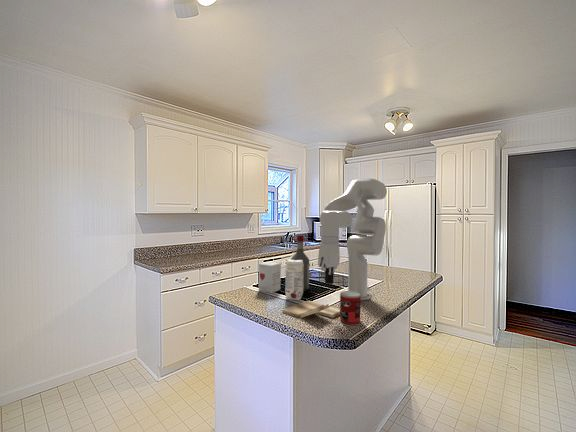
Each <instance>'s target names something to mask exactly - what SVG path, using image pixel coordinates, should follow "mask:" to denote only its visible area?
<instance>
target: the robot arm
mask: <svg viewBox="0 0 576 432" xmlns="http://www.w3.org/2000/svg"><path fill="white" fill-rule="evenodd" d="M387 189H388V188H387V186H386V184H385V183H384V182H381V180H380V181H379V180H378V179H376V178H358V179H353V180H352V181H351V182H350V183H349V185H348V186H347V187H346V189H345V191H344V192H343V193H342V195H341V196H338V197H337V198H335V199H333V200H331V201H330V202H328V203H327V204H326V205H325V206H324V208H323V209H322V211H321V213H320V216H319V223H320V226H321V228H320V229H321V230H320V244H319V247H318V256H317V257H318V259H317V266H318V267H319V268H320V271H322V272H323V273H324V284H328V285H333V284H334V276H335V271H336V269H338V267H339V265H340V260H341V258H340V256H341V255H340V254H341V253H340V229H346V228H349V227H350V226H351V225H352V222H353V217H352V214H351V213H350V212H348V211H350V210H353V209H354V208H356V207H357V211H356V215H355V220H354V223H353V224H354V225H353V231H354V232H355V234H356V235H355V234H354V235H351V236H348V238H347V241H346V248H347V249H346V250H347V254H348V255H347V256H348V266H347V267H348V271H347V272H348V274H347V278H348V280H347V283H348V284H347V285H348V286H347V288H348V289H347V291H353V292H358V293H360V294H361V301H367V300H368V301H369V300H370V299H371V294H369V293H368V291H370V290H371V288H370V286H368V272H369V271H368V266H369V264H368V260H367V259H366V257H365V255H366V256H374V257H377V256H380V255H381V253H382V251H383V246H384V240H385V235H386V230H387V229H386V228H387V225H386V224H387V223H386V220H385V219H384V218H383V217H380V216H374V213H375V209H374V207H373V204H371V203H370V201H374V200H383V199H385V198H386V196H387V192H388V191H387ZM368 200H370V201H368Z"/></svg>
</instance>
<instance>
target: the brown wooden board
mask: <svg viewBox="0 0 576 432" xmlns="http://www.w3.org/2000/svg"><path fill="white" fill-rule="evenodd" d="M322 306H325V305H324V303H323V304H322V303H319V302H315V301H312V300H306V301H303V302H300V303H298V304H295V305H292V306H290V307H287V308H284V309H282V313H284V314H286V315H289V316H292V317H296V318H298V319H300V318H301V317H300V315H301V314H304V313H306V312H309V311H311V310H314V309H317V308H320V307H322Z"/></svg>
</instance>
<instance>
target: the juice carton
mask: <svg viewBox="0 0 576 432" xmlns="http://www.w3.org/2000/svg"><path fill="white" fill-rule="evenodd" d="M303 276H304V265H303V260H291V258H290V259H287V260H286V263H285V277H284V278H285V282H284V284H285V285H284V286H285V291H284V293H285V299H286V300H294V301H301V299H302V297H303V294H304V290H303Z"/></svg>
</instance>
